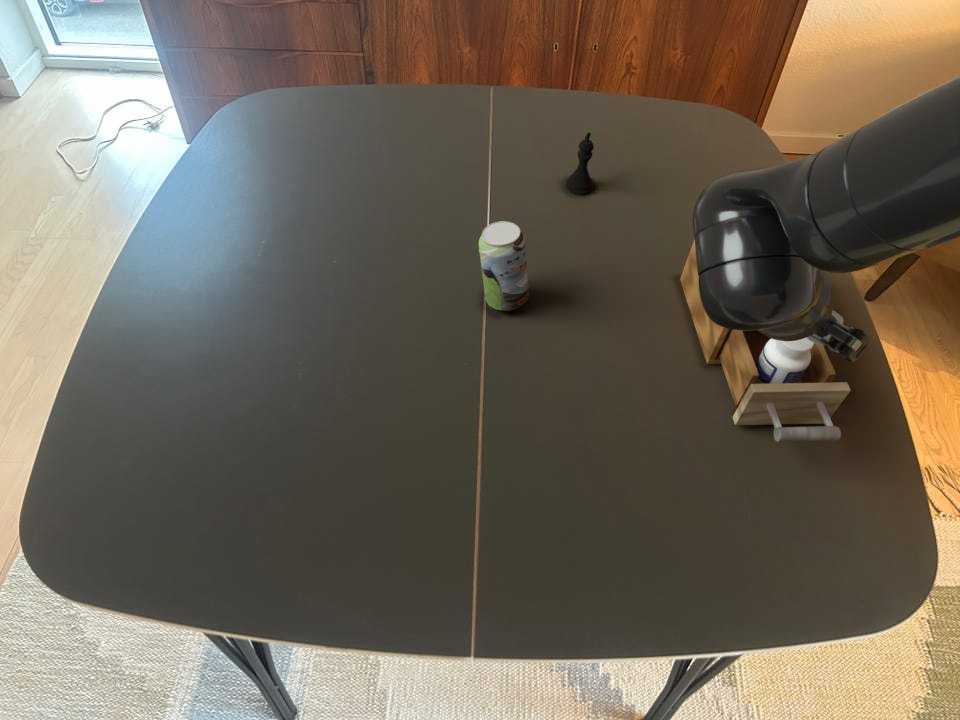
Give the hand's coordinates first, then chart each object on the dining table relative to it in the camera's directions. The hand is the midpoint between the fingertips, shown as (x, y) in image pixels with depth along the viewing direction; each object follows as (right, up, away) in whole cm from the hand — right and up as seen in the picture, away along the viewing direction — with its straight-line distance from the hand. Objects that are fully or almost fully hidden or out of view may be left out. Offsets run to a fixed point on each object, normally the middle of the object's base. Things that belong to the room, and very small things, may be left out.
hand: (802, 318), depth 75 cm
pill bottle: (+2, -8, +13) cm, 15 cm away
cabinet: (+1, +1, +23) cm, 23 cm away
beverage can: (-31, +4, +23) cm, 39 cm away
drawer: (+2, -8, +14) cm, 16 cm away
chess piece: (-18, +24, +40) cm, 50 cm away
